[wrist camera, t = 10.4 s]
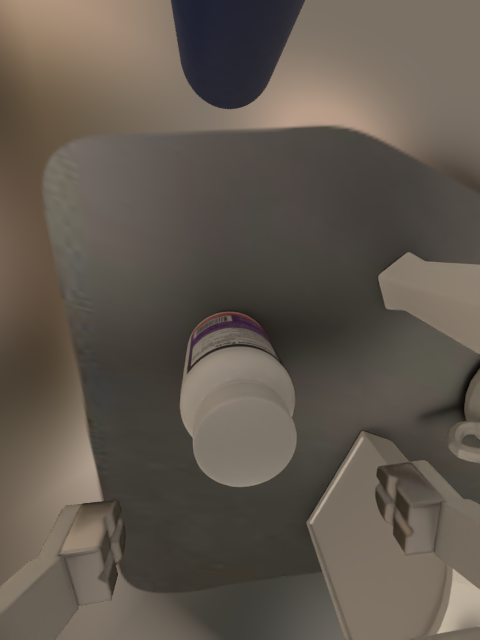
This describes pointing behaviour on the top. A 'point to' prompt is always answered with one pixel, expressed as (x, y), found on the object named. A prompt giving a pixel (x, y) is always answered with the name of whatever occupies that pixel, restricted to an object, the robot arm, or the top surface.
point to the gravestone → (382, 560)
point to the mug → (467, 424)
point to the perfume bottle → (436, 295)
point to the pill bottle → (237, 401)
